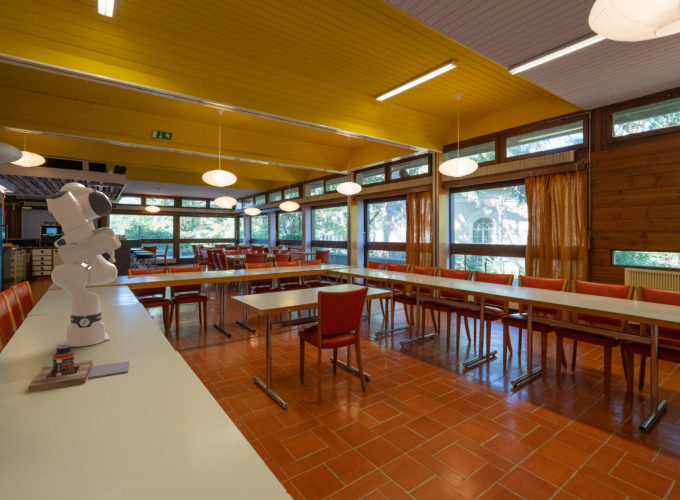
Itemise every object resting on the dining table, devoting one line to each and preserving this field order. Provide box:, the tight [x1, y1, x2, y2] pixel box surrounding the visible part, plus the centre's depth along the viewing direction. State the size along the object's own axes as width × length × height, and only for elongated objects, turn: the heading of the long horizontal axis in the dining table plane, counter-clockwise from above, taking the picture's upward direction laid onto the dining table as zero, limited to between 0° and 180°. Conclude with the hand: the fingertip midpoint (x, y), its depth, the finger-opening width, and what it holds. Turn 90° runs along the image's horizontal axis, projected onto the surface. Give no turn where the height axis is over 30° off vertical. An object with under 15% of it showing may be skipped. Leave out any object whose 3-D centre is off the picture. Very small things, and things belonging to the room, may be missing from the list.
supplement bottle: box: [52, 345, 75, 377], centre depth 120 cm, size 6×6×11 cm
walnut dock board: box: [28, 359, 93, 393], centre depth 120 cm, size 19×15×2 cm
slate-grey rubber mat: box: [87, 360, 130, 380], centre depth 127 cm, size 12×12×1 cm
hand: (101, 266), depth 128 cm, fingers open, 8 cm apart
